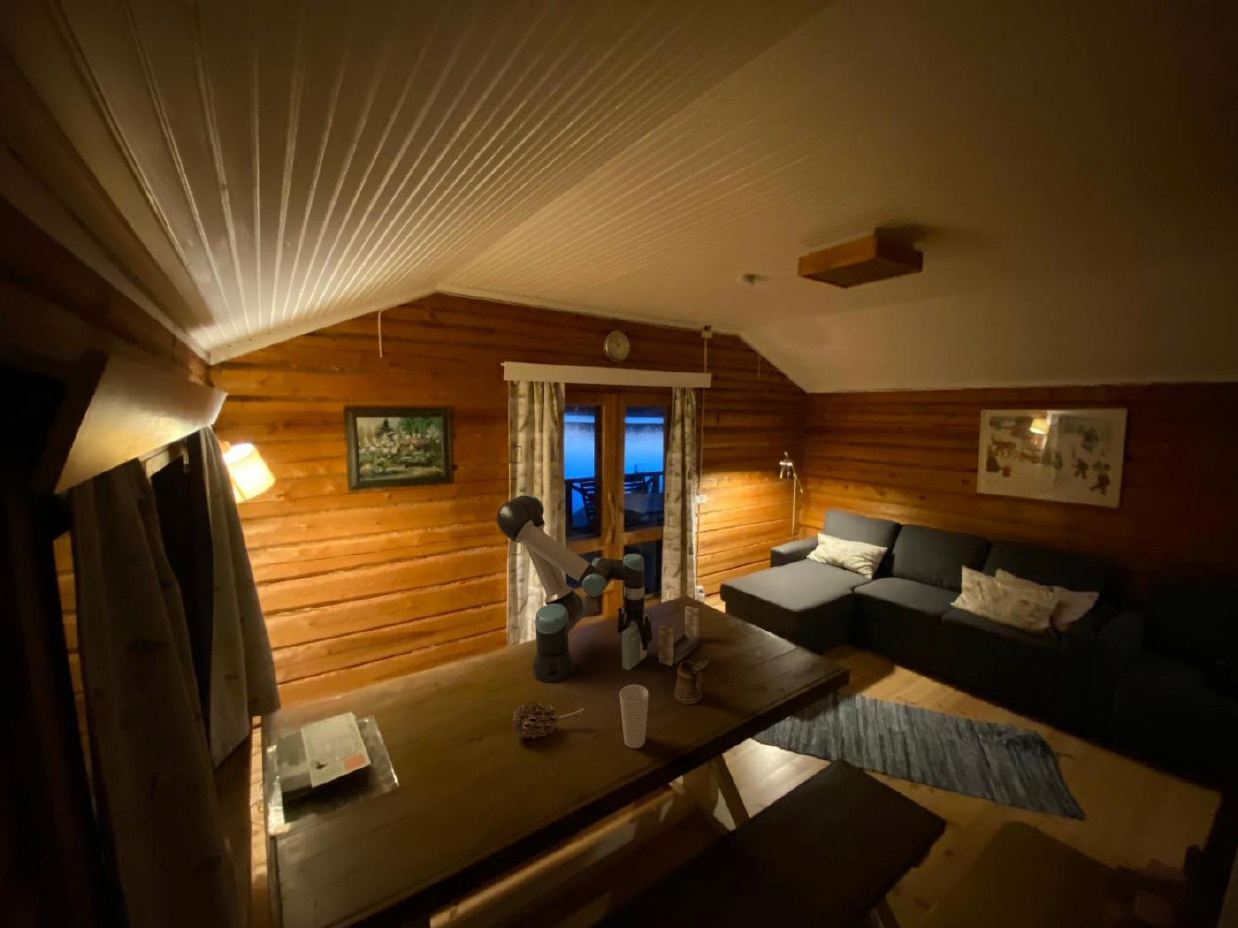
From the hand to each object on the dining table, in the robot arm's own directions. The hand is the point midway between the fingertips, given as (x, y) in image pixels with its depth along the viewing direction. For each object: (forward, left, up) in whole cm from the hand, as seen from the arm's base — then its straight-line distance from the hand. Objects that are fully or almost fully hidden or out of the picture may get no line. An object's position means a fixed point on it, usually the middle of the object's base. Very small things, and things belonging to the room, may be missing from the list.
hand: (634, 654), depth 192 cm
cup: (+25, -36, -3) cm, 44 cm away
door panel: (0, 0, -3) cm, 3 cm away
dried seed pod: (+1, -47, -3) cm, 47 cm away
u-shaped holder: (+10, +16, -3) cm, 19 cm away
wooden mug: (+29, -9, -3) cm, 30 cm away
